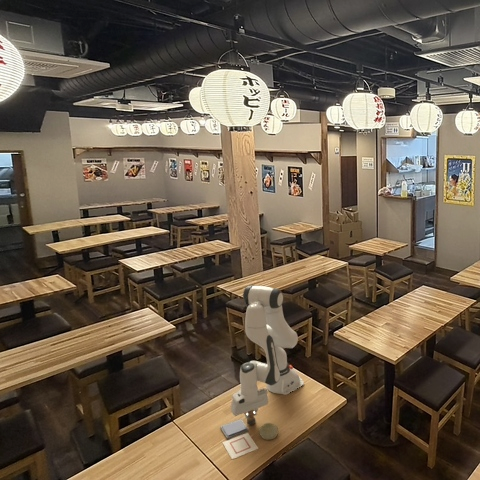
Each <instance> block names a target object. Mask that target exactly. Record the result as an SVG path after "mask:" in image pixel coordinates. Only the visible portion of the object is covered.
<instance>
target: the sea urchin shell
mask: <svg viewBox="0 0 480 480" xmlns="http://www.w3.org/2000/svg"><path fill="white" fill-rule="evenodd" d="M258 431H259V435H260V436H261V438H262V439H264V440H268V441H269V440H274V439H275V438H276V437H277V435H278V432H279V431H278V427H277V426H276V425H275V424H273V423H270V422H267V423H264V424H263V425H262V426H261V427H260V428H259V430H258Z"/></svg>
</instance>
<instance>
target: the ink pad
mask: <svg viewBox="0 0 480 480" xmlns="http://www.w3.org/2000/svg"><path fill="white" fill-rule="evenodd" d="M220 430H221V431H222V433H223V435H224V437H225V438H226V440H230V439H232V438H235V437H238V436H240V435H243V434H245V433H249V428H248V427H247V425H246V424H245V422H244V421H243V420H242V418H240V419H238V420H235V421H232V422H229V423H227V424H223V425H221V426H220Z"/></svg>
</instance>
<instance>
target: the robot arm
mask: <svg viewBox="0 0 480 480" xmlns="http://www.w3.org/2000/svg"><path fill="white" fill-rule="evenodd" d="M242 299H243V301H244V304H245V306H246V309H245V310H246V312H245V319H244V320H245V321H244V325H245V326H244V329H245V330H244V331H245V334H246V337H247V338H248V339H249V340H250V341H251V342H253V343H254V344H257V345H258V346H259V347H260V348H262V350H263V351H264V352H265V356H266V357H265V358H266V362H261V361H257V360H250V361H248V362H244V363H243V364H241V365H240V367H239V368H240V369H239V383H240V388H239V389H238V390H237V391H236V392H234V393H233V394H232V396H231V398H232V401H231V405H230V407H231V408H230V409H231V413H232V415H233V416H235V417H238V416H241V415H242V414H244V417H245V419H246V420H247V418H249V415H248V411H251V410H254V417H255V416H257V415H258V410H259V409H260V408H262V407H265V406H267V405H268V404H269V397H268V392H270V393H274V394H278V395H279V394H280V395H284V396H285V395H286V396H287V395H289V394H291V393H292V391H293V392H294V391H297V390H298V389H300V388H301V386H302V385H303V386H305V382H304V380H303V379H302V377H300V375H299V373H298V371H296V370H295V369H294V367H293V365H292V364H290V363H288V357H287V355H288V354H287V352H286V350H285V349H293V348H295V346H297V344H298V342H299V341H298V339H299V337H298V333H297V331H295V330H293V328H292V327H290V325H289V324H288V322H287V321H286V319H285V317H284V311H283V302H284V294H283V292H282V291H281V289H278V288H276V287H275V288H273V287H269V286H265V285H264V286H262V285H253V284H252V285H247V286H246V287H245V288H244V290H243V293H242ZM259 382H260V383H264V384H266V388H261V389H258V385H257V383H259ZM303 386H302V387H303ZM299 387H300V388H299ZM297 388H298V389H297ZM290 392H291V393H290Z"/></svg>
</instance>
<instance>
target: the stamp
mask: <svg viewBox="0 0 480 480" xmlns="http://www.w3.org/2000/svg"><path fill="white" fill-rule="evenodd" d="M247 413H248V415H249V418H247V419H246V423H247V425H249V426H251V427H252V426H254V425H256V417H255V416H254V410H251V411H248V412H247Z"/></svg>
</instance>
